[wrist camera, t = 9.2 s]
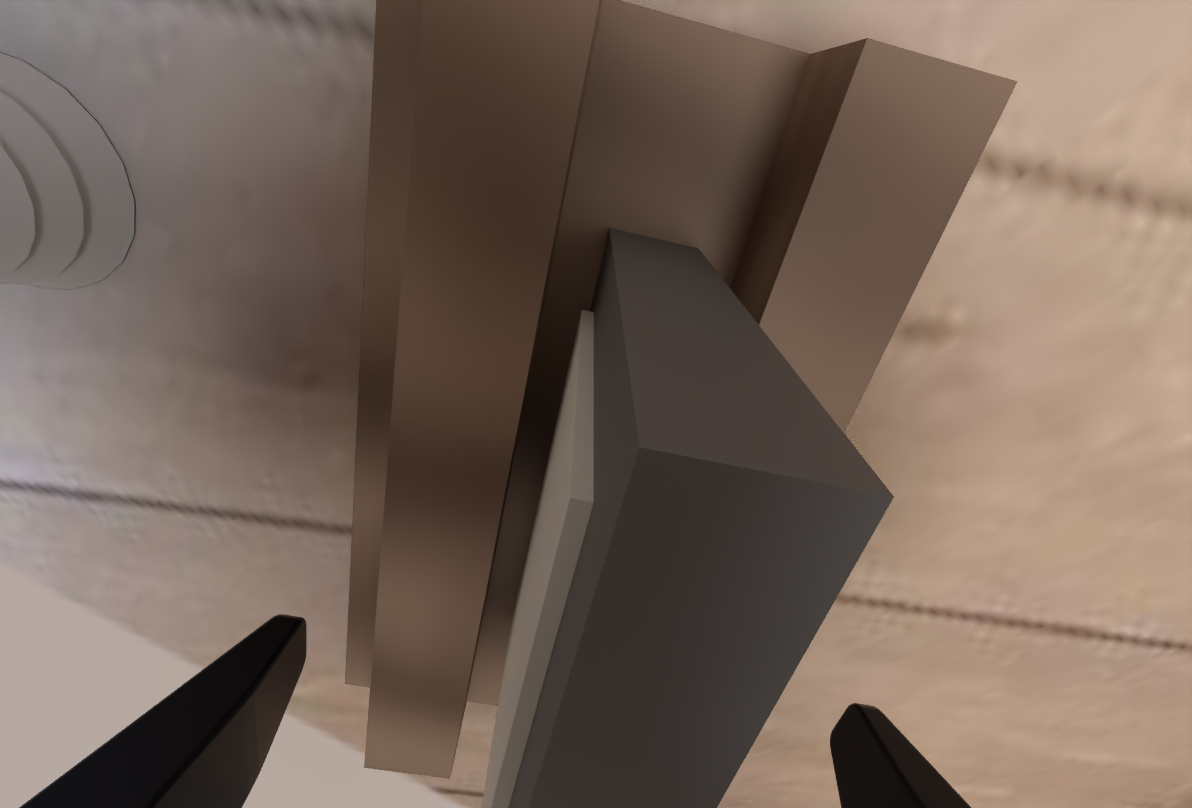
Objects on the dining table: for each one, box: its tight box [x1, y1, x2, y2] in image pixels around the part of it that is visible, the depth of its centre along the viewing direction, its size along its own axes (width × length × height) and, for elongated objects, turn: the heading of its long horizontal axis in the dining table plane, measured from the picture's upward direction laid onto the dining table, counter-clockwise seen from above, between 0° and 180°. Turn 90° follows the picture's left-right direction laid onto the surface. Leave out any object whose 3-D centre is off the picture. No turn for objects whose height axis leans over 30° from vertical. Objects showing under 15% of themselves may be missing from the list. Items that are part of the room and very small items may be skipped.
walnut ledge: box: [345, 0, 1017, 779], centre depth 14 cm, size 20×12×4 cm, turn 167°
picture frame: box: [482, 228, 893, 808], centre depth 11 cm, size 2×12×9 cm, turn 167°
